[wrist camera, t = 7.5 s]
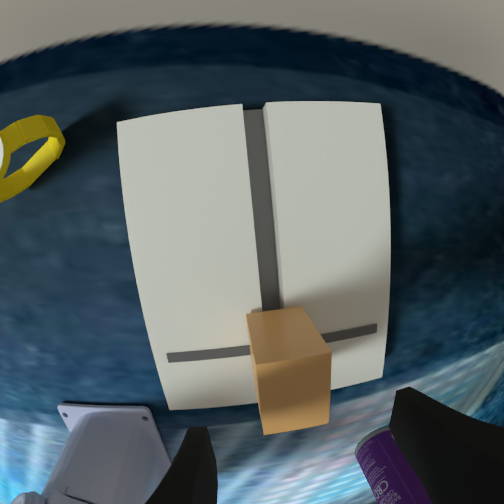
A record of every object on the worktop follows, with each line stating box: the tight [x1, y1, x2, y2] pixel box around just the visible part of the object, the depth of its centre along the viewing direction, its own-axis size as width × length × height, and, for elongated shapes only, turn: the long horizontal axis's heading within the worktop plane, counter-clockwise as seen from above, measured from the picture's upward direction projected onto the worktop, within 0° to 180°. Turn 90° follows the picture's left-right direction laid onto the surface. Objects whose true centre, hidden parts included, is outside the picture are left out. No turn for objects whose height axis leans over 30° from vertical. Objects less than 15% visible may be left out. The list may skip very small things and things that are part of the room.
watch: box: [0, 115, 65, 203], centre depth 13 cm, size 6×3×6 cm, turn 124°
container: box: [355, 427, 432, 504], centre depth 16 cm, size 5×5×15 cm
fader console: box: [117, 101, 391, 410], centre depth 17 cm, size 17×14×2 cm
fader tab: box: [246, 306, 332, 435], centre depth 15 cm, size 4×3×7 cm
